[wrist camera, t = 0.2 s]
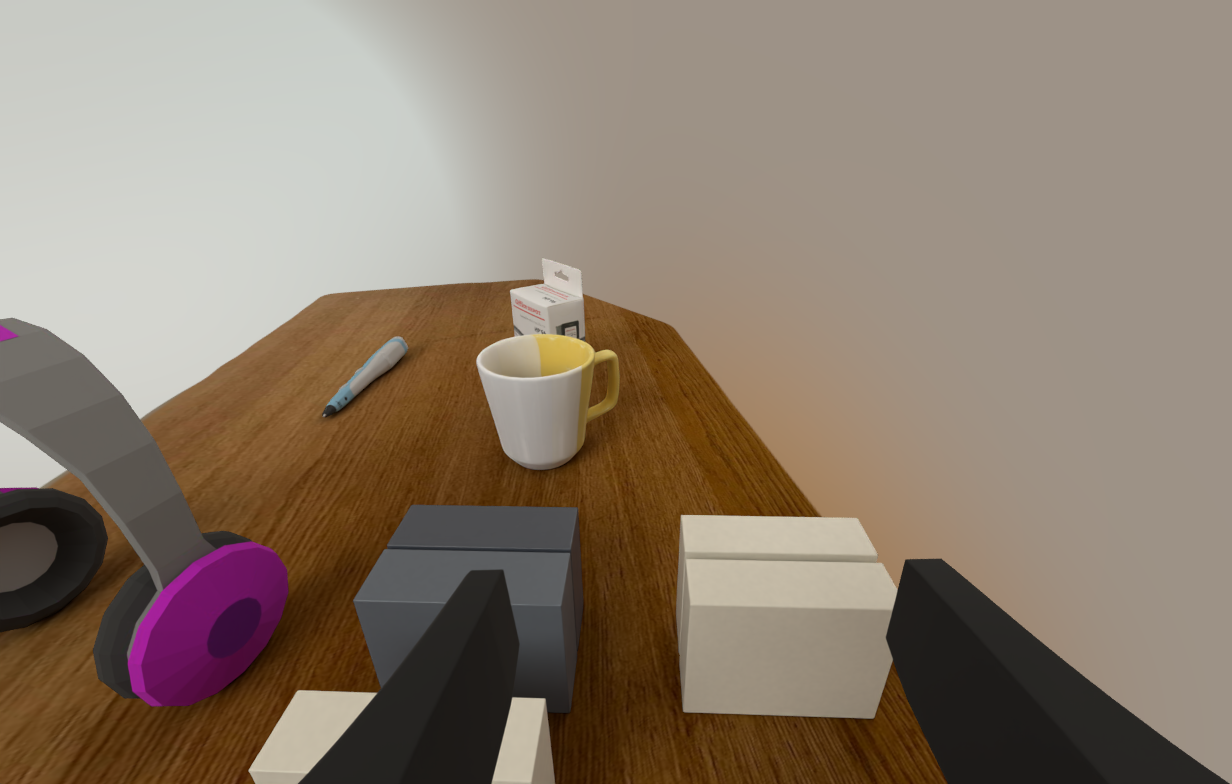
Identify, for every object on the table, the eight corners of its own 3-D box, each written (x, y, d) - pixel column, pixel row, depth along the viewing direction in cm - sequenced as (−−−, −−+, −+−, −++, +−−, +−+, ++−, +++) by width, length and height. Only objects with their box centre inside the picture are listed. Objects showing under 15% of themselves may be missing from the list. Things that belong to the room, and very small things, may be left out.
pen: (389, 354, 75) (384, 335, 74) (411, 354, 75) (407, 335, 73) (312, 422, 58) (305, 399, 56) (341, 422, 57) (334, 399, 56)
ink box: (516, 381, 66) (504, 263, 60) (550, 371, 69) (542, 256, 62) (554, 406, 60) (544, 277, 54) (589, 393, 63) (585, 269, 56)
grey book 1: (577, 651, 32) (571, 549, 28) (413, 647, 32) (386, 545, 29) (583, 605, 35) (578, 506, 31) (433, 601, 35) (411, 504, 32)
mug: (505, 498, 45) (491, 386, 41) (480, 441, 54) (466, 343, 49) (648, 459, 50) (649, 356, 46) (604, 413, 59) (602, 322, 54)
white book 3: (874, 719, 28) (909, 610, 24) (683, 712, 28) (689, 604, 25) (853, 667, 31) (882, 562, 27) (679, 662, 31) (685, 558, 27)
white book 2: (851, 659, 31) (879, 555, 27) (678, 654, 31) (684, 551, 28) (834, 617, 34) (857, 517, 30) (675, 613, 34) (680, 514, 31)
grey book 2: (570, 713, 28) (561, 605, 25) (386, 707, 29) (352, 600, 25) (577, 655, 32) (570, 552, 28) (411, 650, 32) (384, 548, 28)
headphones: (-69, 653, 32) (-333, 344, 23) (95, 554, 40) (-58, 291, 31) (185, 756, 27) (-36, 402, 18) (320, 618, 34) (211, 320, 25)
